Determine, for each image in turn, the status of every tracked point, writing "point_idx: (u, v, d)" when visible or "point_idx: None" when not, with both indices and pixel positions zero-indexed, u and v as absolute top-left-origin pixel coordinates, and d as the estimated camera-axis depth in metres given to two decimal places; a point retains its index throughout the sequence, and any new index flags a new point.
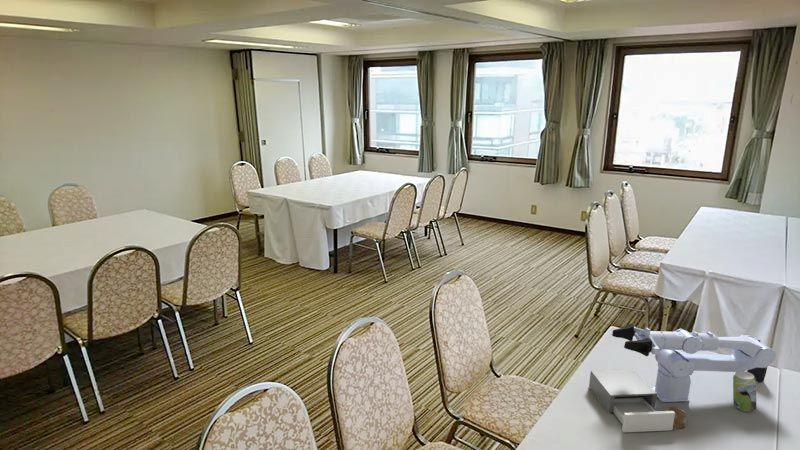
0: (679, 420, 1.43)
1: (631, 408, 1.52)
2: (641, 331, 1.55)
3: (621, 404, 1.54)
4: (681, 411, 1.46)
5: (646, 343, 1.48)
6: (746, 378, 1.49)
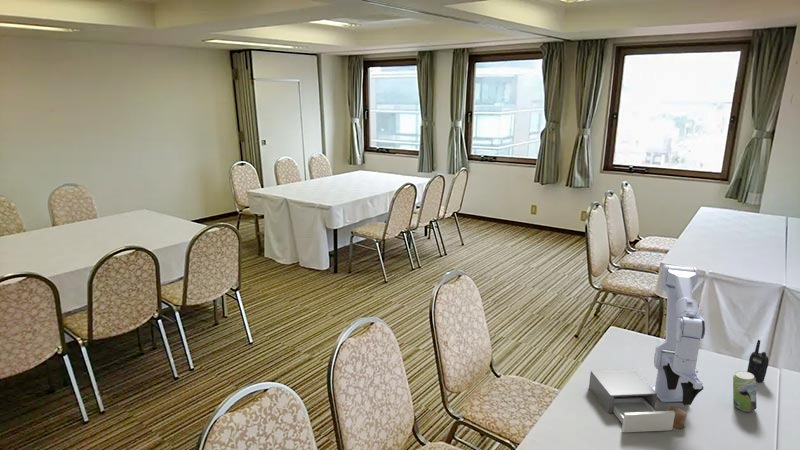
0: (679, 420, 1.43)
1: (631, 408, 1.52)
2: None
3: (621, 404, 1.54)
4: (681, 411, 1.46)
5: None
6: (746, 378, 1.49)
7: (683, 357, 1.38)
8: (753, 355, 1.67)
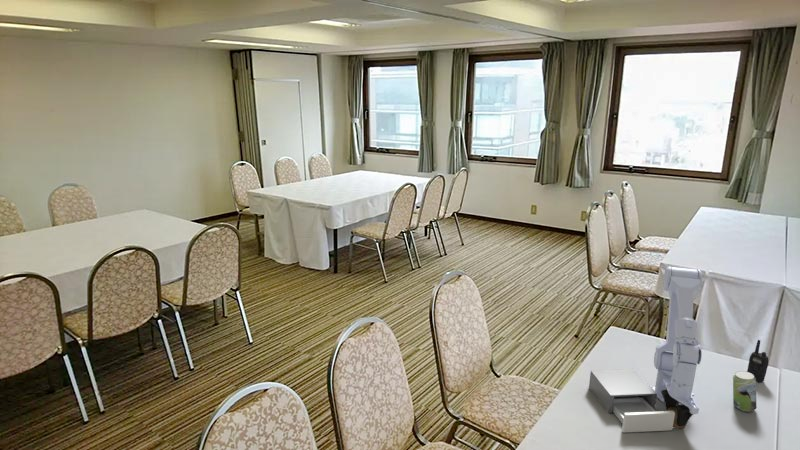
0: None
1: (631, 408, 1.52)
2: None
3: (621, 404, 1.54)
4: None
5: None
6: (746, 378, 1.49)
7: (680, 382, 1.40)
8: (753, 355, 1.67)
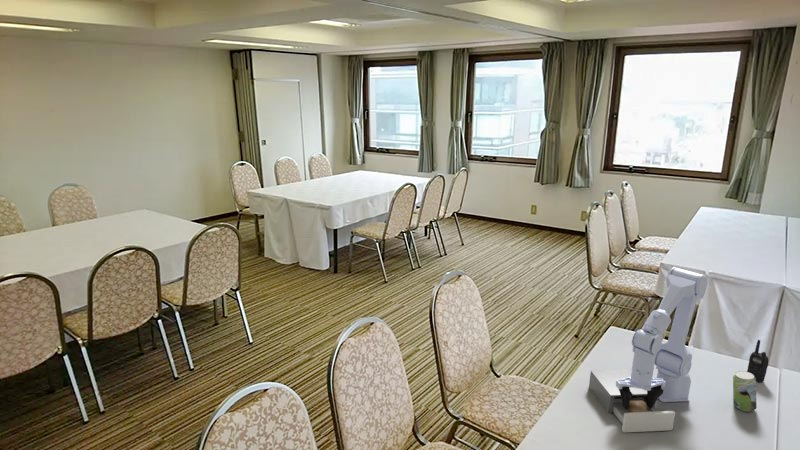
0: (629, 405, 1.48)
1: None
2: None
3: (621, 404, 1.54)
4: (641, 406, 1.46)
5: None
6: (746, 378, 1.49)
7: (634, 367, 1.44)
8: (753, 355, 1.67)
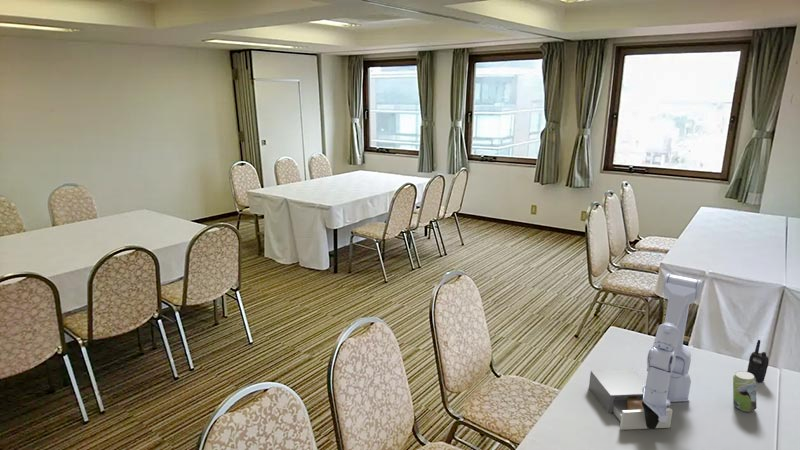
0: (627, 403, 1.49)
1: None
2: None
3: (619, 402, 1.55)
4: (639, 404, 1.47)
5: None
6: (746, 378, 1.49)
7: (650, 387, 1.36)
8: (753, 355, 1.67)
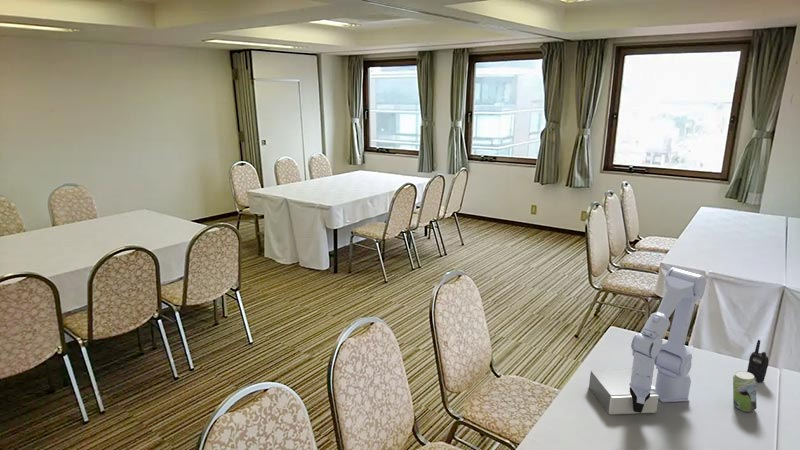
0: None
1: None
2: None
3: None
4: None
5: None
6: (746, 378, 1.49)
7: (634, 371, 1.44)
8: (753, 355, 1.67)
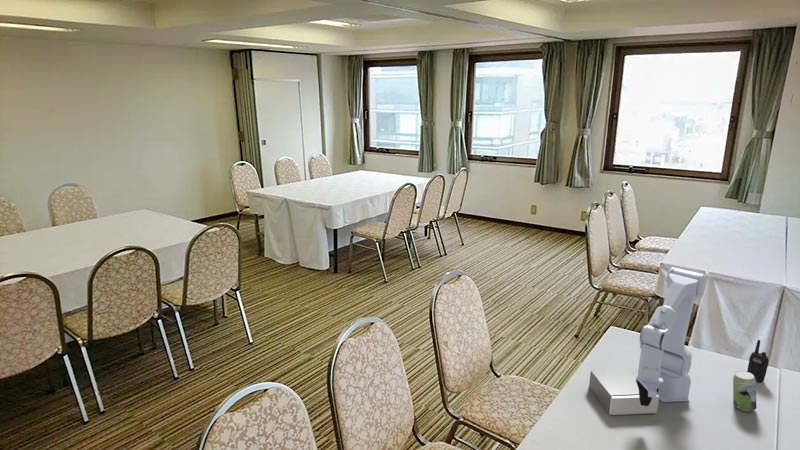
0: None
1: None
2: None
3: None
4: None
5: None
6: (746, 378, 1.49)
7: (642, 364, 1.39)
8: (753, 355, 1.67)
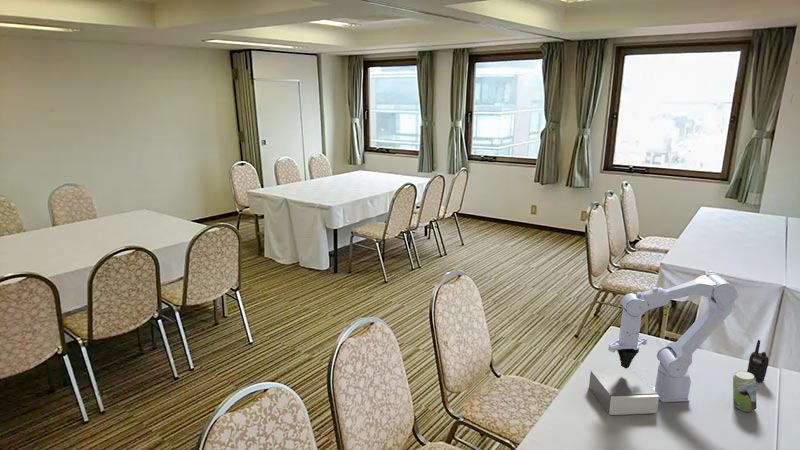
0: None
1: None
2: None
3: None
4: None
5: None
6: (746, 378, 1.49)
7: None
8: (753, 355, 1.67)
